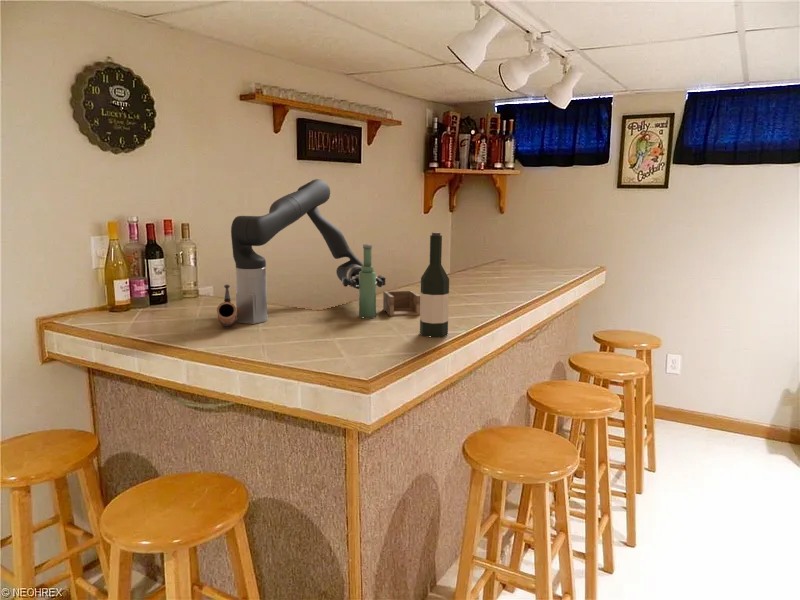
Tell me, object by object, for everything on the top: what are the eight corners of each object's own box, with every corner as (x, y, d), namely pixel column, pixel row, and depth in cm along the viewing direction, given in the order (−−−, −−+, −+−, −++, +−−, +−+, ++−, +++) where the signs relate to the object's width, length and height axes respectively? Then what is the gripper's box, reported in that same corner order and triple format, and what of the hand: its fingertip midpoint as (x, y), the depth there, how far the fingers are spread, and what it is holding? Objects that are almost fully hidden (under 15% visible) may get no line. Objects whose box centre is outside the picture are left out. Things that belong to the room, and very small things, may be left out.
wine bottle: (445, 338, 171) (448, 234, 165) (417, 336, 173) (419, 233, 167) (449, 331, 179) (452, 231, 173) (422, 329, 181) (424, 231, 175)
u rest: (420, 314, 201) (420, 295, 200) (390, 316, 199) (390, 296, 197) (411, 308, 211) (412, 290, 210) (383, 309, 209) (383, 291, 207)
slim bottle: (372, 319, 194) (373, 245, 190) (356, 317, 196) (356, 245, 191) (377, 315, 200) (378, 244, 195) (362, 314, 201) (362, 243, 197)
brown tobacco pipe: (217, 334, 172) (216, 300, 170) (219, 313, 200) (218, 284, 198) (237, 333, 174) (235, 300, 172) (236, 312, 202) (235, 283, 200)
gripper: (338, 266, 208) (346, 273, 192) (378, 266, 211) (389, 272, 196) (338, 288, 209) (346, 296, 194) (378, 286, 213) (388, 294, 197)
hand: (367, 284), depth 195 cm, fingers open, 8 cm apart
